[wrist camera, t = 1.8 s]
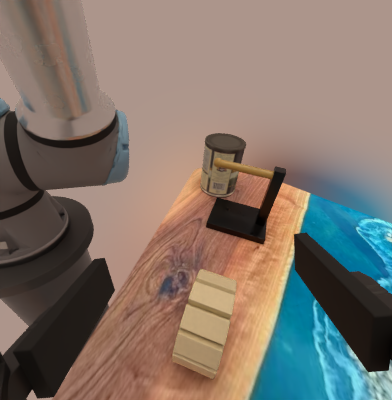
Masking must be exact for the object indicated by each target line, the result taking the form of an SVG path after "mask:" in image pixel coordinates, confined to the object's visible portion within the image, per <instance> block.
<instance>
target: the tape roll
mask: <svg viewBox="0 0 392 400" xmlns="http://www.w3.org/2000/svg"><path fill="white" fill-rule="evenodd" d="M236 284H237V282H236V280H233V279H230V278H227V277H224V276H221V275H218V274H215V273H212V272H209V271H206V270H204V269H201V270H200V271H199V273H198V275H197V277H196V280H195V282H194V285H193V287H192V290H191V293H190V295H189V298H188V304H187V305H186V307H185V310H184V314H183V317H182V320H181V323H180V329H179V331H178V333H177V337H176V341H175V345H174V349H173V354H172V361H173V362H175V363H178V364H180V365H182V366H184V367H186V368H189V369H191V370H193V371H195V372H198V373H200V374H202V375H204V376H207V377H209V378H211V379H214V377H215V375H216V373H217V370H218V367H219V364H220V361H221V357H222V354H223V348H224V345H225V342H226V338H227V334H228V330H229V326H230V318H231V316H232V311H233V306H234V300H235V293H236Z"/></svg>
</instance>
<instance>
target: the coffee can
mask: <svg viewBox="0 0 392 400" xmlns="http://www.w3.org/2000/svg"><path fill="white" fill-rule="evenodd" d="M245 146H246V142H245V141H244V140H243V139H241V138H239V137H237V136H234V135H230V134H221V133H218V134H211V135H208V136H207V137H206V138H205V150H204V159H203V167H202V176H201V183H200V187H201V189H202V190H203V191H204V192H205V193H207V194H208V195H211V196H215V197H227V196H230V195H231V194H233V193H234V191H235V186H236V181H237V177H238V173H239V172H238V171H234V170H230V169H225V168H221V167H219V168H217V167H215V166H214V164H213V162H214V160H215V159H216V158H221V159H222V160H226V161H231V162H235V163H239V164H241V161H242V157H243V153H244V149H245Z"/></svg>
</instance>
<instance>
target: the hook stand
mask: <svg viewBox="0 0 392 400" xmlns="http://www.w3.org/2000/svg"><path fill="white" fill-rule="evenodd" d="M213 164H214V166H215V167H217V168H219V167H221V168H225V169H230V170H234V171H238V172H242V173H247V174H251V175H255V176H259V177H263V178H268V179H270V182H269V185H268V188H267V190H266V193H265V196H264V198H263V201H262V204H261V206H260V209H258V208H254V207H251V206H247V205H243V204H239V203H236V202H232V201H228V200H224V199H221V198H217V199H216V202H215V204H214V206H213V209H212V211H211V214H210V216H209V218H208V221H207V224H206V227H208V228H211V229H214V230H218V231H221V232H224V233H228V234H231V235H234V236H238V237H241V238H244V239H248V240H251V241H254V242H258V243H261V244H263V243H264V241H265V235H266V223H267V218H268V216H269V213H270V211H271V208H272V206H273V204H274V201H275V199H276V196H277V194H278V192H279V189H280V187H281V184H282V182H283V180H284V177H285V175H286V169H284V168H280V167H275V169H274V171H269V170H265V169H260V168H257V167H252V166H248V165H244V164H239V163H235V162H231V161H226V160H222V159H221V158H216V159H215V160H214V162H213Z"/></svg>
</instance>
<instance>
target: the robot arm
mask: <svg viewBox="0 0 392 400" xmlns="http://www.w3.org/2000/svg"><path fill="white" fill-rule="evenodd" d="M0 59H1V61H2V63H3V65H4V66H5V68H6V70H7V72H8V74H9V76H10V78H11V79H12V81H13V83H14V85H15V87H16V89H17V90H18V92H19V94H20V96H21V98H20V99H19V101H18V103H17V105H16V108H15V111H14V112H13V111H10V110H9V109H10V107H9V105H8V104H6V102H5V101H4V100H2V99H1V98H0V268H5V267H12V266H17V265H20V264H24V263H27V262H29V261H32V260H34V259H36V258H38V257H40V256H42V255H44V254H46V253H47V252H49V251H50V250H52V249H53V248H54V247H56V246H57V245H58V244H59V243H60V242H61V241H62V240H63V239H64V237H65V236H66V234H67V233H68V231H69V228H70V219H69V216H68V214H67V212H66V210H65V208H64V207H62V206H61V205H60V204H59V203H58V202H57V201H56V200H55V199H54V198H53V197H52V196H51V195H50V194H49V193H48V192H47V191H46V190H50V189H63V188H74V187H86V186H98V185H106V184H110V183H116V182H121V181H123V180H124V179H125V178H126V176H127V174H128V168H129V148H128V146H129V135H128V125H127V120H126V115H125V114H124V113H123V112H122V111H118V110H115V106H114V103H113V101H112V100H111V98H110V97H109V96H108V95H107V94H106V93H104V92H103V91H101V90H100V88H99V84H98V79H97V74H96V69H95V64H94V60H93V54H92V50H91V45H90V40H89V35H88V30H87V26H86V21H85V16H84V11H83V7H82V1H81V0H0ZM294 246H295V270H296V272H297V273H298V275H299V276H300V277H301V279H302V280H303V282H304V283H305V284H306V286H307V287H308V289H309V290H310V291H311V293H312V294H313V296H314V297H315V298H316V300H317V301H318V303H319V304H320V305H321V307H322V308H323V310H324V311H325V312H326V314H327V315H328V317H329V318H330V319H331V321H332V322H333V324H334V325H335V326H336V328H337V329H338V331H339V332H340V333H341V335H342V336H343V338H344V339H345V340H346V342H347V343H348V345H349V346H350V347H351V349H352V350H353V352H354V353H355V354H356V356H357V357H358V359H359V360H360V361H361V363H362V364H363V366H364V367H365V368H366V370H367V371H368V372H376V371H388V370H389V364H390V359H391V360H392V294H391V293H388V291H387V290H386V289H384V288H383V287H381V286H380V284H378V283H377V282H376V281H375V280H373V279H372V278H371V277H369V276H367V275H365V274H363V273H361V272H359V271H357V272H349V271H348V270H347V269H346V268H345V267H344V266H342V265H341V264H340V263H339V262H338V261H337V260H336V259H335V258H334V257H332V256H331V255H330V254H329V253H328V252H327V251H326V250H325V249H324V248H322V247H321V246H320V245H319V244H318V243H317V242H316V241H315V240H314V239H312V238H311V237H310V236H309V235H308V234H307V233H300V234H294ZM114 291H115V289H114V286H113V283H112V280H111V276H110V274H109V270H108V267H107V264H106V261H105V258H100V259H94V260H93V261H92V262H91V264H90V265H89V266H88V267H87V268H86V269H85V270H84V271H83V273H82V274H81V275H80V276H79V277H78V278H77V279H76V280H75V282H74V283H73V284H72V285H71V286H70V287H69V288H68V290H67V291H66V292H65V293H64V294H63V295H62V296H61V297H60V299H59V300H58V301H57V302H56V303H55V304H54V305H53V306H50V307H49V308H48V309H47V310H45V311H44V312H43V313H41V314H40V315H39V316H38V317H37V318H36V320H35V321H34V322H33V324H31V325H30V326H29V327H28V329H26V331H25V332H24V333H23V334H22V335H21V336H20V337H19V338H18V339H17V340H16V341H15V343H14V344H13V345H12V346H11V347H10V348H9V349H8V350H7V351H6V352H5V354H4V355H3V356H2V354H1V352H0V400H27V399H26V398H27V396H28V395H29V393H30V392H31V390H32V389H33V391H34V393H35V395H36V397H37V398H50V397H54V396H55V394H56V393H57V391H58V389H59V387H60V386H61V384H62V382H63V380H64V379H65V377H66V375H67V373H68V372H69V370H70V368H71V366H72V365H73V363H74V361H75V359H76V358H77V356H78V354H79V352H80V351H81V349H82V347H83V345H84V344H85V342H86V340H87V338H88V337H89V335H90V333H91V331H92V329H93V328H94V326H95V324H96V322H97V321H98V319H99V317H100V315H101V314H102V312H103V310H104V308H105V307H106V305H107V303H108V301H109V300H110V298H111V296H112V294H113V293H114Z"/></svg>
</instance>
